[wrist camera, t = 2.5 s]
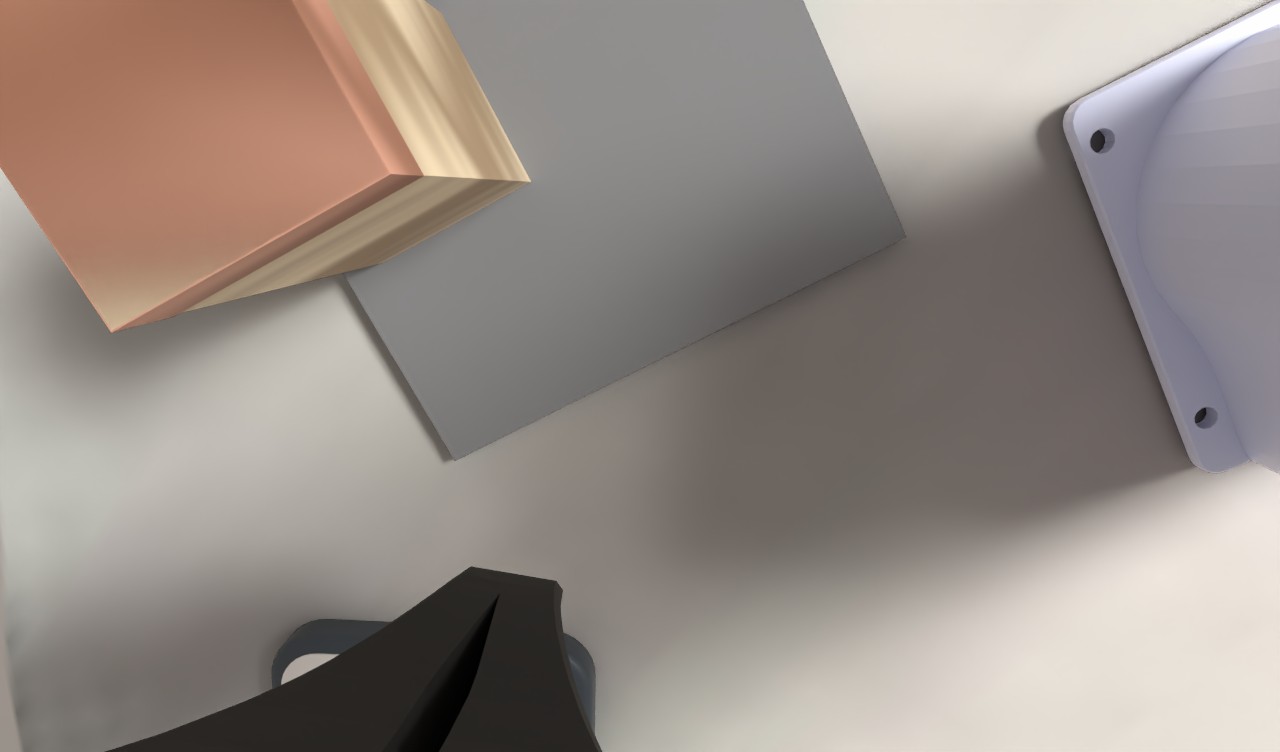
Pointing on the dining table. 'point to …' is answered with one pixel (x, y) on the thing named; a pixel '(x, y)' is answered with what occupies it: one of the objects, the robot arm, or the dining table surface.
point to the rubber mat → (626, 201)
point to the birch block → (239, 141)
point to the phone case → (337, 636)
